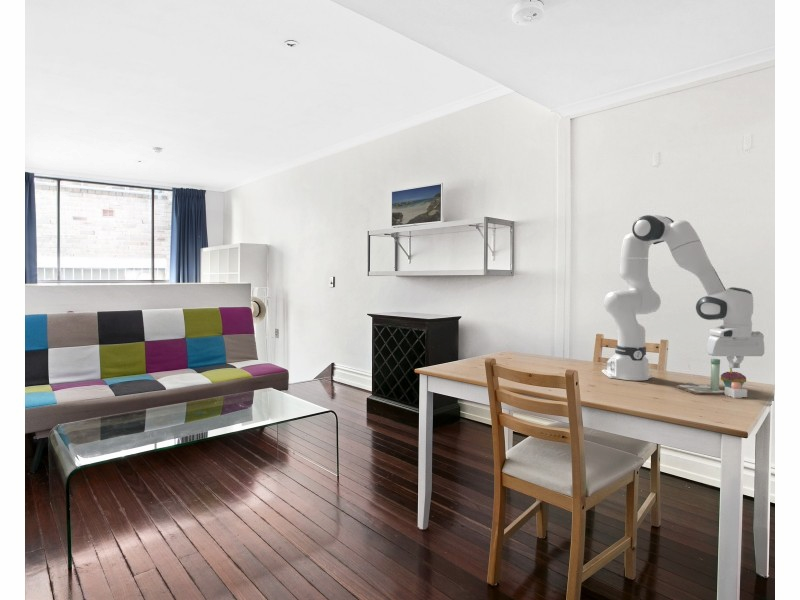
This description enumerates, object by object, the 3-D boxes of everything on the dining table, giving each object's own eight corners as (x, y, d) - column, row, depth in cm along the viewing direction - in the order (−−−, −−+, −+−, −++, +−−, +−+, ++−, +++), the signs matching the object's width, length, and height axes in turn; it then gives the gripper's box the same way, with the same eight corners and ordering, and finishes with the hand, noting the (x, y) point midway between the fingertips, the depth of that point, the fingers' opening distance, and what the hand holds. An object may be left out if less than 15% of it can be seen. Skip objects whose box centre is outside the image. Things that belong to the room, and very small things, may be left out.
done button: (728, 392, 185) (729, 382, 184) (736, 392, 185) (737, 382, 185) (734, 394, 182) (735, 383, 181) (742, 394, 182) (742, 383, 182)
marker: (708, 389, 191) (709, 358, 190) (715, 389, 191) (716, 358, 191) (713, 390, 188) (714, 360, 187) (721, 390, 188) (722, 360, 188)
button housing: (724, 394, 186) (724, 386, 186) (737, 394, 186) (737, 386, 186) (733, 397, 181) (734, 389, 181) (747, 397, 181) (747, 389, 181)
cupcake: (735, 392, 189) (736, 361, 188) (714, 387, 197) (715, 358, 196) (751, 390, 192) (752, 360, 191) (730, 386, 200) (731, 357, 199)
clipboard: (671, 385, 201) (671, 382, 201) (704, 385, 201) (705, 382, 201) (695, 394, 186) (695, 391, 186) (731, 394, 186) (731, 391, 186)
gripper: (757, 330, 186) (754, 365, 187) (705, 329, 185) (702, 365, 186) (770, 332, 180) (767, 369, 181) (717, 332, 179) (714, 369, 180)
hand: (734, 367), depth 184 cm, fingers closed
